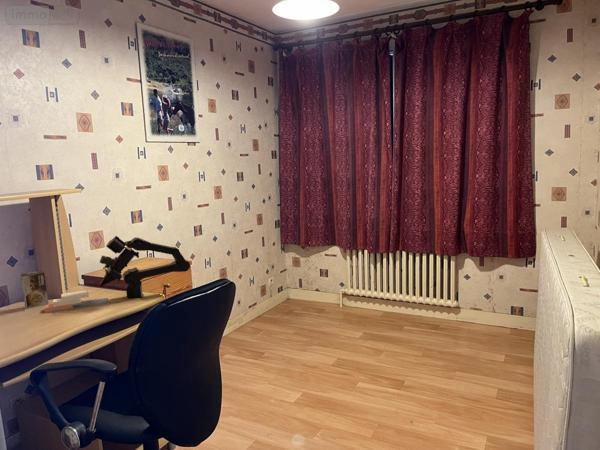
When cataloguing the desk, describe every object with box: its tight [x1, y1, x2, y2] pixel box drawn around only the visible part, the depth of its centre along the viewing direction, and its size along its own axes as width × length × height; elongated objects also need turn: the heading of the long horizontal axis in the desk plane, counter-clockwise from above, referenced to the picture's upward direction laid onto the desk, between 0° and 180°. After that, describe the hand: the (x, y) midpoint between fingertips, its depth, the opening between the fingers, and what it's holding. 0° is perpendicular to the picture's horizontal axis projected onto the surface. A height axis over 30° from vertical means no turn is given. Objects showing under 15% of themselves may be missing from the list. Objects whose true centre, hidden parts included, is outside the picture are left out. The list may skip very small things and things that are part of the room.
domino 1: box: [44, 303, 73, 313], centre depth 202 cm, size 2×5×11 cm
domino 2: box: [52, 297, 82, 307], centre depth 204 cm, size 2×5×11 cm
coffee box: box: [20, 270, 50, 310], centre depth 208 cm, size 9×6×16 cm
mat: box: [51, 297, 111, 314], centre depth 207 cm, size 24×11×1 cm, turn 119°
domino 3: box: [61, 290, 90, 301], centre depth 205 cm, size 2×5×11 cm
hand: (100, 285), depth 210 cm, fingers closed
